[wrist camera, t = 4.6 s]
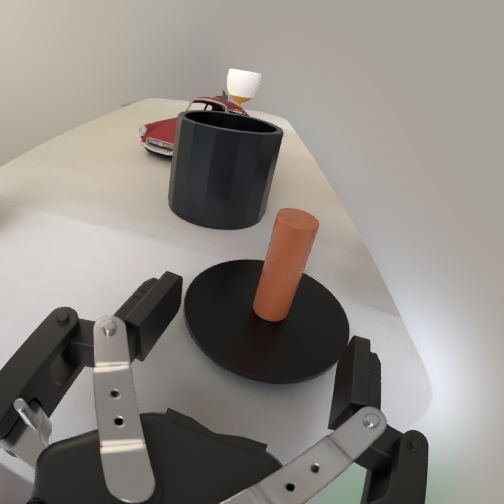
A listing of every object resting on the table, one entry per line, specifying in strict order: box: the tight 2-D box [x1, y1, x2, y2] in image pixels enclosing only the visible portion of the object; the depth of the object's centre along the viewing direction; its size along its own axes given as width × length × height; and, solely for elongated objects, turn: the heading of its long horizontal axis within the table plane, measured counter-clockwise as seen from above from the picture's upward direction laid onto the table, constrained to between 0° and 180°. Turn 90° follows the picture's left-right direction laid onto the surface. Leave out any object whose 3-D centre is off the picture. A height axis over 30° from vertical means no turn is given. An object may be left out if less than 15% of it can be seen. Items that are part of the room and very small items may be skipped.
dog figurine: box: [214, 91, 228, 110], centre depth 98 cm, size 12×6×7 cm, turn 178°
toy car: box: [139, 97, 250, 156], centre depth 54 cm, size 11×25×10 cm, turn 155°
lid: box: [183, 208, 349, 384], centre depth 21 cm, size 12×12×9 cm
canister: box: [168, 110, 284, 230], centre depth 35 cm, size 11×11×10 cm
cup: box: [227, 69, 261, 113], centre depth 76 cm, size 9×9×16 cm
